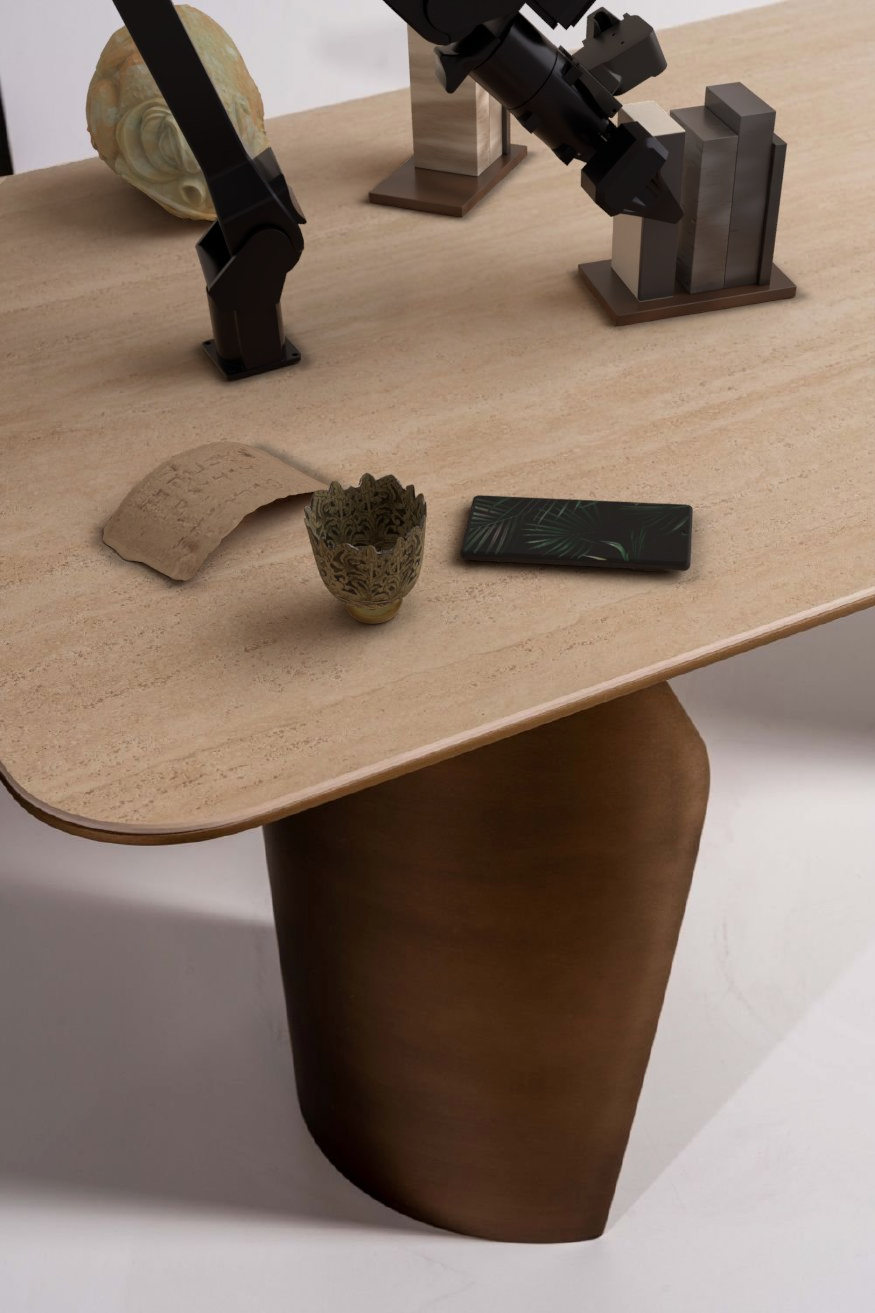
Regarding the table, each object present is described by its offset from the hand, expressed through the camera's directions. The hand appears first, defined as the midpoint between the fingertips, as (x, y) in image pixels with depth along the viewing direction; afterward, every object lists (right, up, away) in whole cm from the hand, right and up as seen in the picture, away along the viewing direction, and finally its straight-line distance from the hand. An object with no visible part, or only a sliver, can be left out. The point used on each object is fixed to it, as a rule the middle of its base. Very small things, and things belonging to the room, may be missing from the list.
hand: (658, 196), depth 116 cm
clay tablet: (-33, -28, -17) cm, 47 cm away
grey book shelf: (+3, -6, +6) cm, 9 cm away
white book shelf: (-17, +10, +25) cm, 32 cm away
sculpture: (-43, +8, +24) cm, 50 cm away
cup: (-22, -35, -26) cm, 49 cm away
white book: (-1, -6, +5) cm, 7 cm away
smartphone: (-9, -30, -21) cm, 38 cm away
